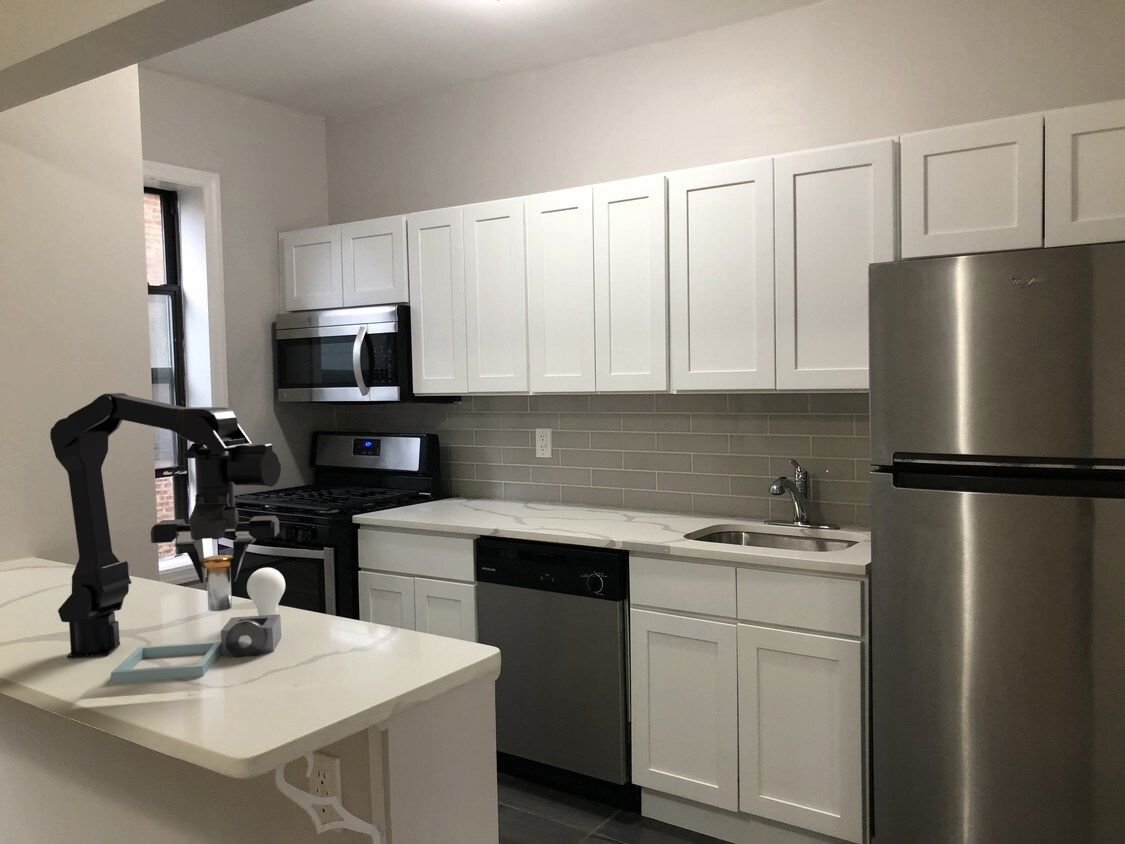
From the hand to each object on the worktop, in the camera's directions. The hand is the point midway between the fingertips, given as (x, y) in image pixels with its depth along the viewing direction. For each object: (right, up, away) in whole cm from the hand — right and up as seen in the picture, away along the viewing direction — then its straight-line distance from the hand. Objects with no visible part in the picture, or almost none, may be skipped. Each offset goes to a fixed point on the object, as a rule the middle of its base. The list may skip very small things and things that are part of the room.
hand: (218, 581), depth 146 cm
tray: (-6, -13, -5) cm, 15 cm away
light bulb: (+2, -12, +18) cm, 22 cm away
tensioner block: (+4, -12, +4) cm, 14 cm away
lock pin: (0, -4, 0) cm, 4 cm away
